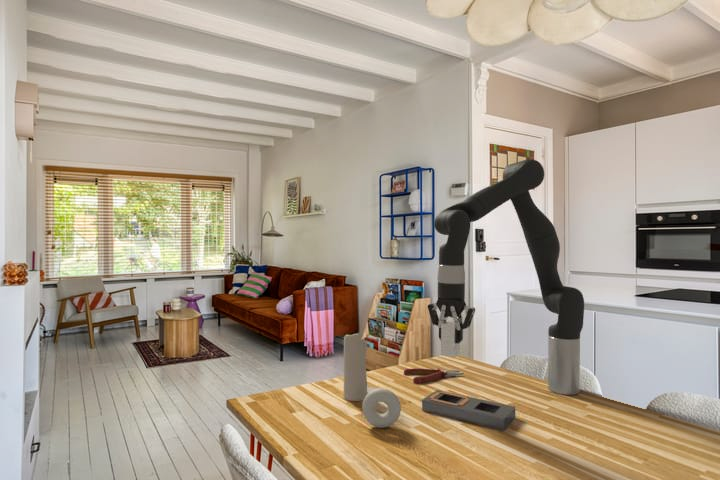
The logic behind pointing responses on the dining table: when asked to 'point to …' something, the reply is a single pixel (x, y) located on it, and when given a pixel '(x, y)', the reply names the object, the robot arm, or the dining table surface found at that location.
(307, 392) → the dining table surface
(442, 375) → the pliers
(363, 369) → the tall grey curved block
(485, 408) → the rail
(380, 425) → the donut
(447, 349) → the steel block
